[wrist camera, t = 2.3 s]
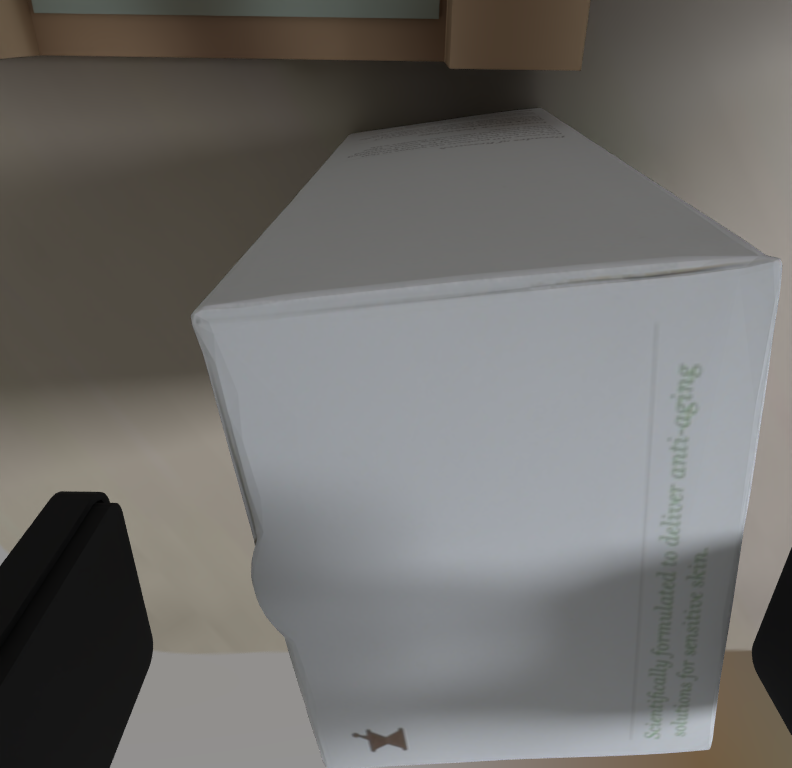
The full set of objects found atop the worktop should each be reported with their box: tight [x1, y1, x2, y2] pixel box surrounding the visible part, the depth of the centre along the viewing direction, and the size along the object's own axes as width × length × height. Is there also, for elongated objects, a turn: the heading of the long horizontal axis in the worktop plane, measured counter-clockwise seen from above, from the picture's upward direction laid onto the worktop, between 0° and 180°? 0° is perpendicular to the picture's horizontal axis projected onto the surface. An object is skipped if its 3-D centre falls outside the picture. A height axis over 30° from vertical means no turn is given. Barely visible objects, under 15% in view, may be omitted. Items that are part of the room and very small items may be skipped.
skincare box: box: [191, 108, 782, 768], centre depth 15 cm, size 8×7×16 cm
